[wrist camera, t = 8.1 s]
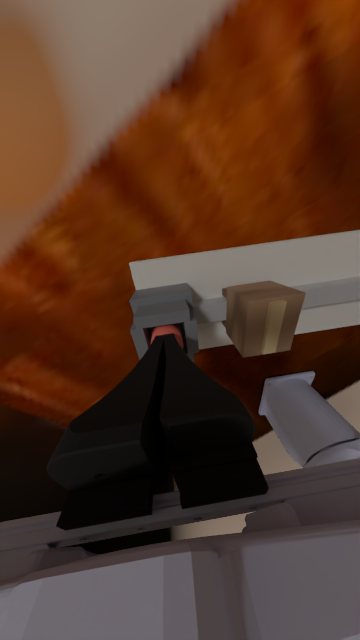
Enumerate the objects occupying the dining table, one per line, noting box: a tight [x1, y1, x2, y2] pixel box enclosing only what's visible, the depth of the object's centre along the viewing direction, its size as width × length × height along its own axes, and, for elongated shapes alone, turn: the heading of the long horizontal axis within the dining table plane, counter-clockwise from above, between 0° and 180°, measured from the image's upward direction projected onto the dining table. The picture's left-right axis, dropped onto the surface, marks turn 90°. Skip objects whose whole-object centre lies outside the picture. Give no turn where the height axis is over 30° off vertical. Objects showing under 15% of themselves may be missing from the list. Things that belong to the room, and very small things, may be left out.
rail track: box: [129, 230, 360, 362], centre depth 14 cm, size 11×30×6 cm, turn 97°
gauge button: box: [150, 323, 183, 349], centre depth 12 cm, size 2×2×2 cm
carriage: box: [222, 281, 306, 358], centre depth 13 cm, size 5×4×6 cm
